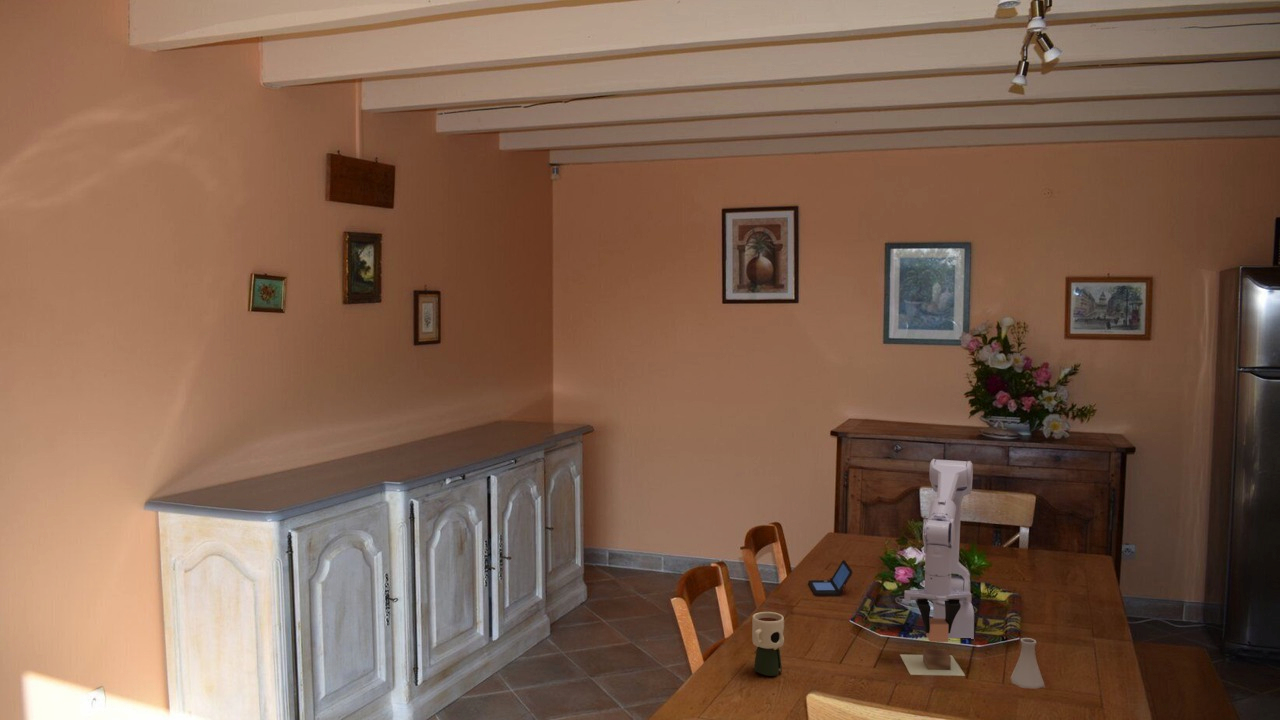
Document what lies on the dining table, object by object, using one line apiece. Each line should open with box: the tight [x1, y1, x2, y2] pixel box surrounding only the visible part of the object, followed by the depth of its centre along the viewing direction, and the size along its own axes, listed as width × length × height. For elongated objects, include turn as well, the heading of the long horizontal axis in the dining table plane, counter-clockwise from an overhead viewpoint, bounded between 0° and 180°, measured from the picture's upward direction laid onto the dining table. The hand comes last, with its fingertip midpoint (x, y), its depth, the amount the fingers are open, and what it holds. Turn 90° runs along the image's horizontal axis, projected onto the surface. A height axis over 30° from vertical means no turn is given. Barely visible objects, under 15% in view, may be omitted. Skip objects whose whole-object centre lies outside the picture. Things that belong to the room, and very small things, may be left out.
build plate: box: [899, 654, 966, 677], centre depth 224 cm, size 12×12×1 cm
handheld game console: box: [807, 559, 853, 597], centre depth 282 cm, size 12×11×7 cm
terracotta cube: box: [925, 617, 949, 643], centre depth 223 cm, size 4×4×4 cm
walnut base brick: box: [922, 648, 951, 670], centre depth 223 cm, size 5×5×3 cm
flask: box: [1010, 637, 1046, 690], centre depth 214 cm, size 7×7×10 cm
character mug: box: [751, 611, 785, 677], centre depth 221 cm, size 11×7×13 cm, turn 143°
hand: (937, 631), depth 223 cm, fingers closed on terracotta cube, 4 cm apart
